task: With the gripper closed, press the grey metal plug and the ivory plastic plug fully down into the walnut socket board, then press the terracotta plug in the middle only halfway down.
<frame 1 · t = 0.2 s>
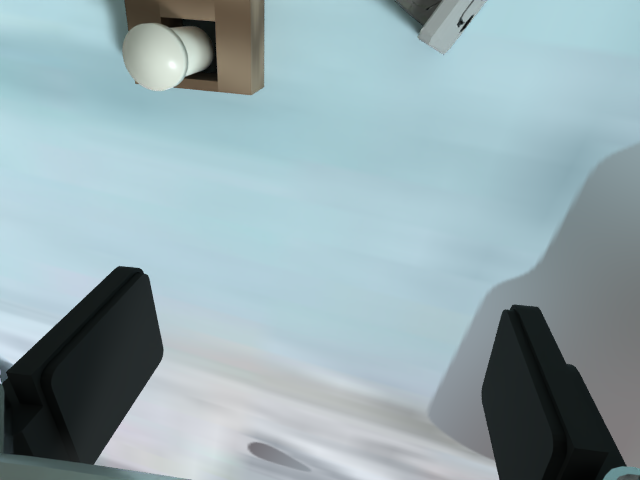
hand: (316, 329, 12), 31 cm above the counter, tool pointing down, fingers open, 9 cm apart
plug ivory: (175, 53, 32), point 7 cm above the counter, slide at 0.0 cm
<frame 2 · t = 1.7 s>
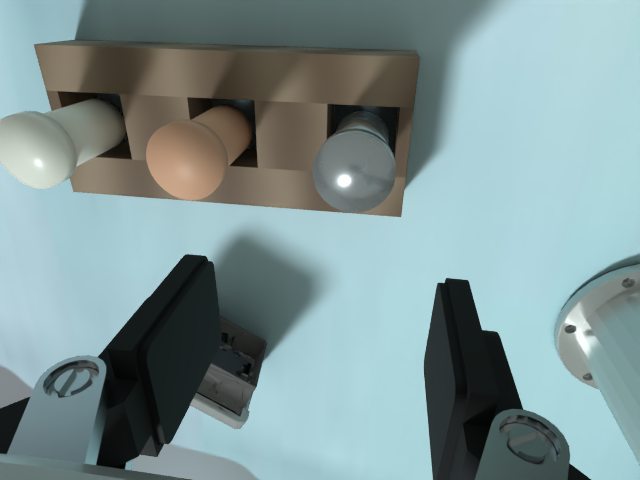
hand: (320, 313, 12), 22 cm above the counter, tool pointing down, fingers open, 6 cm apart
plug ivory: (70, 136, 27), point 7 cm above the counter, slide at 0.0 cm
socket board: (241, 119, 32), on the counter
electrical switch: (226, 326, 42), on the counter
plug grey: (358, 154, 25), point 7 cm above the counter, slide at 0.0 cm
plug terracotta: (208, 145, 26), point 7 cm above the counter, slide at 0.0 cm
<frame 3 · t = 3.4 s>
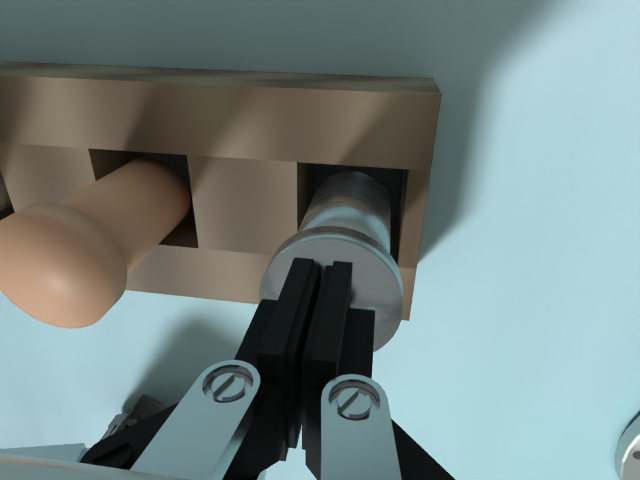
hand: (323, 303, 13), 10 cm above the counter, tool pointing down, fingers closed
socket board: (184, 170, 23), on the counter
electrical switch: (182, 422, 33), on the counter
plug grey: (342, 248, 16), point 7 cm above the counter, slide at 0.0 cm, touching gripper
plug terracotta: (110, 227, 17), point 7 cm above the counter, slide at 0.0 cm
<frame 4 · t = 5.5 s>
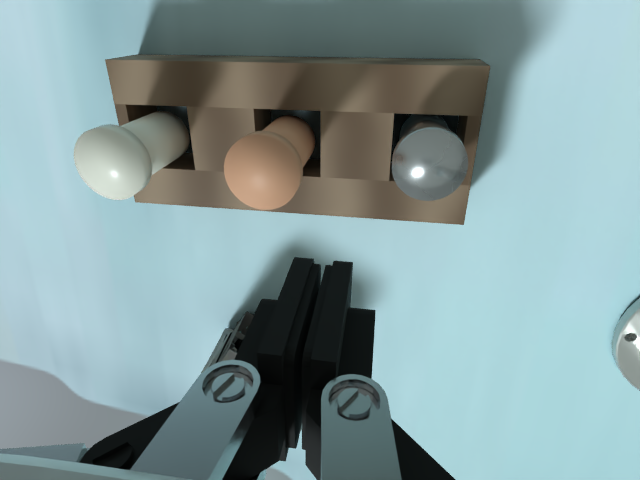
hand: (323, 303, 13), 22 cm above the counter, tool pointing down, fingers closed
plug ivory: (140, 148, 28), point 7 cm above the counter, slide at 0.0 cm
socket board: (300, 129, 32), on the counter
electrical switch: (274, 334, 42), on the counter
plug grey: (426, 149, 28), point 4 cm above the counter, slide at 2.9 cm
plug terracotta: (277, 155, 27), point 7 cm above the counter, slide at 0.0 cm
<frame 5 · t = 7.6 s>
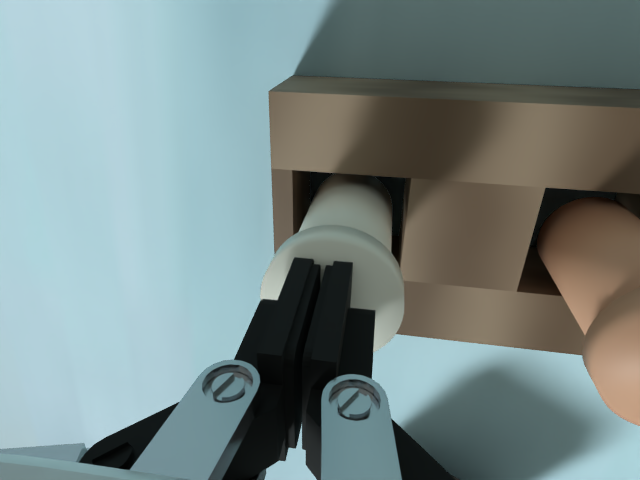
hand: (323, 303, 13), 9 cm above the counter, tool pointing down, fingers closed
plug ivory: (343, 247, 16), point 6 cm above the counter, slide at 1.1 cm, touching gripper
socket board: (558, 205, 19), on the counter
plug terracotta: (627, 290, 14), point 7 cm above the counter, slide at 0.0 cm
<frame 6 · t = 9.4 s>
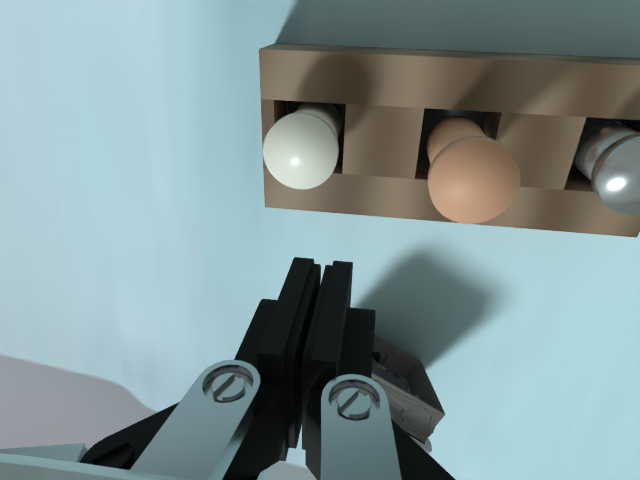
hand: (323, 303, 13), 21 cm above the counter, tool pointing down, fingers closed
plug ivory: (309, 137, 27), point 4 cm above the counter, slide at 2.8 cm
socket board: (448, 130, 30), on the counter
electrical switch: (377, 345, 40), on the counter
plug grey: (613, 156, 26), point 4 cm above the counter, slide at 2.9 cm
plug terracotta: (462, 161, 24), point 7 cm above the counter, slide at 0.0 cm
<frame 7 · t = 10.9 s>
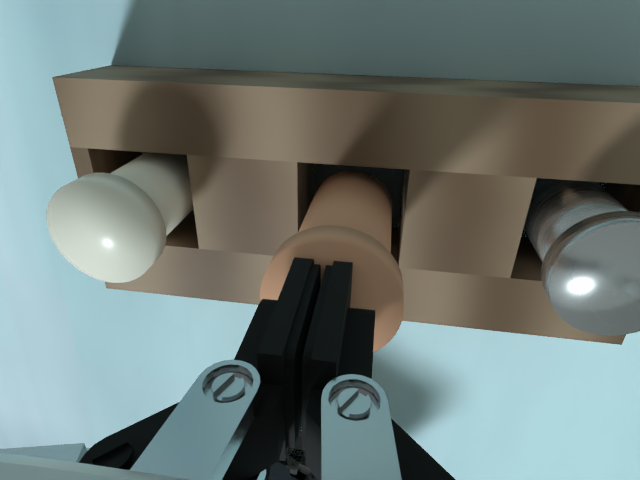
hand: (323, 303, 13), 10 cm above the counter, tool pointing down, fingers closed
plug ivory: (147, 199, 19), point 4 cm above the counter, slide at 2.8 cm
socket board: (357, 183, 22), on the counter
electrical switch: (300, 439, 32), on the counter
plug grey: (580, 234, 17), point 4 cm above the counter, slide at 2.9 cm
plug terracotta: (343, 247, 16), point 7 cm above the counter, slide at 0.1 cm, touching gripper
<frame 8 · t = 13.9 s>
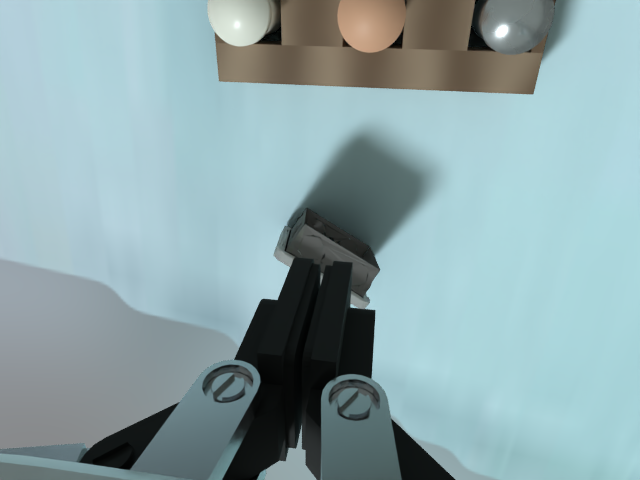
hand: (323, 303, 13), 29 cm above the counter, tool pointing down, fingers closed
plug ivory: (252, 11, 32), point 4 cm above the counter, slide at 2.8 cm
socket board: (376, 13, 35), on the counter
electrical switch: (331, 232, 45), on the counter
plug grey: (505, 17, 30), point 4 cm above the counter, slide at 2.9 cm
plug terracotta: (373, 14, 30), point 5 cm above the counter, slide at 1.4 cm
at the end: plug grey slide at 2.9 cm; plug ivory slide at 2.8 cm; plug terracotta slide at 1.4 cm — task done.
